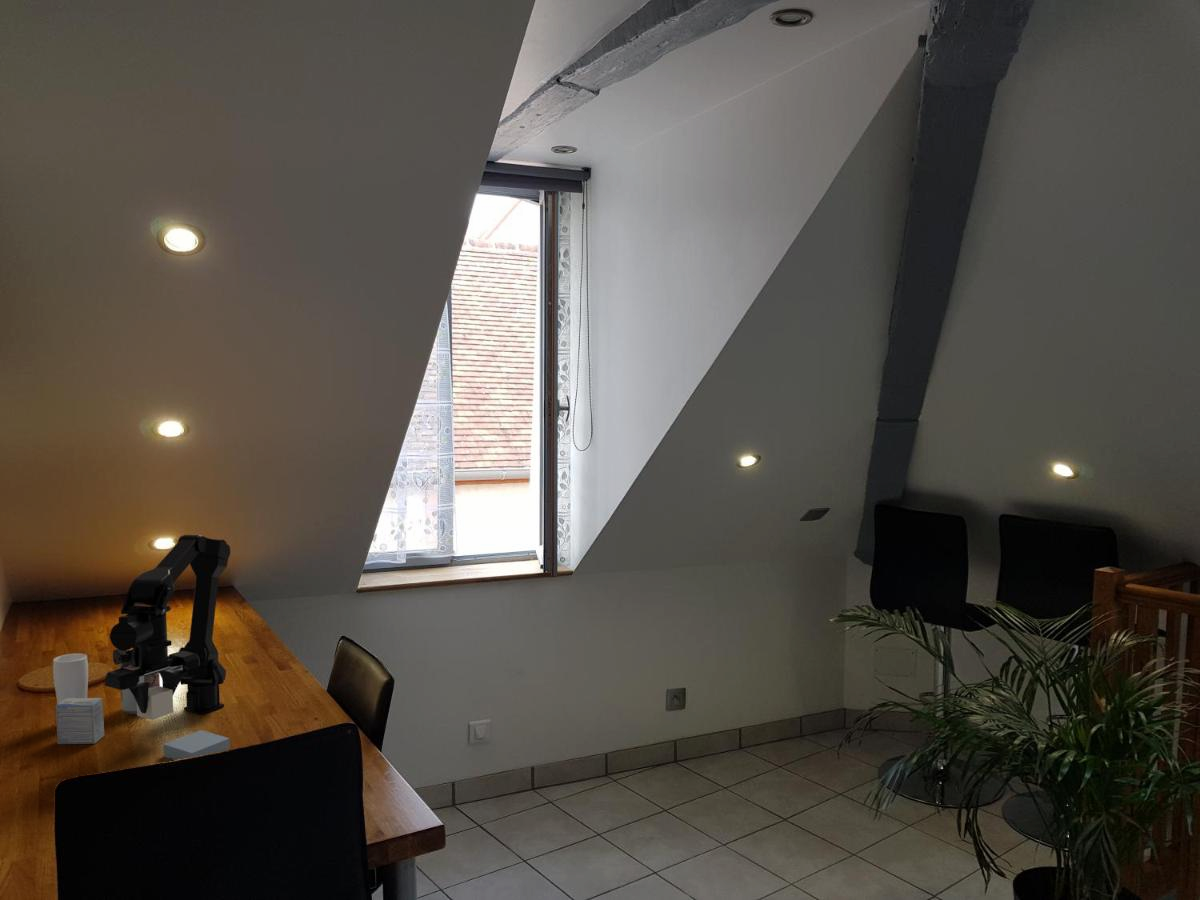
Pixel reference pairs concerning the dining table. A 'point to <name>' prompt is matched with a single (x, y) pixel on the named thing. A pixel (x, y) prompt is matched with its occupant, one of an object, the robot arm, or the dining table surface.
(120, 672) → the robot arm
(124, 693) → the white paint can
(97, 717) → the medicine box
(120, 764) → the dining table surface
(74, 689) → the drinking glass
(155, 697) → the cream cube
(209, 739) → the slate block
